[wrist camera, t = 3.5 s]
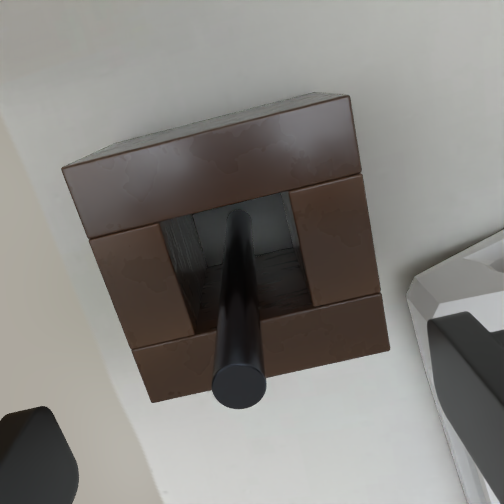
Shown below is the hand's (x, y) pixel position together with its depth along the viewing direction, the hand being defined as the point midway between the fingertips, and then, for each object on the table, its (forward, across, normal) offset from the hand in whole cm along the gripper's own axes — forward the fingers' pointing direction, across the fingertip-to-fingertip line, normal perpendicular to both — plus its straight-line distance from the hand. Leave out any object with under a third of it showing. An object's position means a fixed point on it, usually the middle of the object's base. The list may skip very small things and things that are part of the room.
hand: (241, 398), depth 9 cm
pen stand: (+14, 0, 0) cm, 14 cm away
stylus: (+14, 0, 0) cm, 14 cm away
